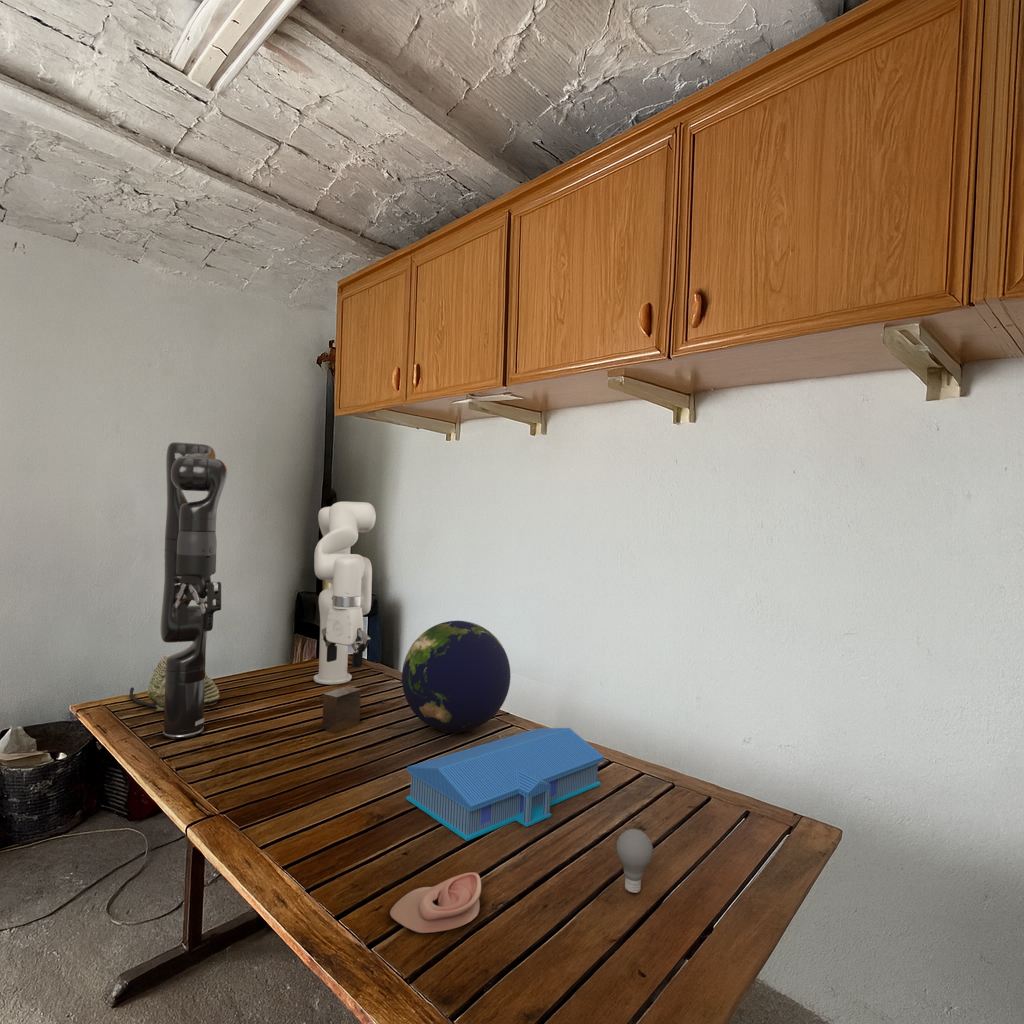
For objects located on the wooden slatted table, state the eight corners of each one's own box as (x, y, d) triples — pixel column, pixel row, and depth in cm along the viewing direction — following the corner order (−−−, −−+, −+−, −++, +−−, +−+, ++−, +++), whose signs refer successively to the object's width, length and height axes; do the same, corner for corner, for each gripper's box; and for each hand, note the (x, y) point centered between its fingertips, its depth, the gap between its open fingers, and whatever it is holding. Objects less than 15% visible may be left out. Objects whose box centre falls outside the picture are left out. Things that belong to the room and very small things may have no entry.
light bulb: (610, 879, 108) (613, 822, 108) (644, 879, 109) (647, 822, 109) (619, 902, 102) (622, 840, 102) (655, 901, 103) (658, 840, 103)
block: (322, 728, 172) (323, 693, 172) (346, 719, 180) (347, 685, 180) (335, 732, 170) (336, 697, 170) (359, 723, 178) (360, 689, 177)
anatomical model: (382, 899, 94) (410, 857, 105) (381, 926, 94) (409, 881, 105) (468, 915, 91) (487, 870, 103) (467, 942, 92) (486, 894, 103)
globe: (377, 737, 168) (382, 624, 167) (433, 705, 195) (437, 608, 195) (480, 759, 156) (485, 638, 156) (523, 721, 184) (528, 619, 183)
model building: (477, 848, 116) (480, 794, 116) (404, 798, 134) (406, 751, 134) (612, 789, 143) (614, 745, 142) (536, 754, 161) (537, 715, 161)
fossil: (144, 707, 182) (145, 655, 182) (212, 696, 194) (213, 647, 194) (151, 716, 175) (153, 662, 175) (221, 703, 188) (223, 653, 188)
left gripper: (159, 550, 135) (157, 626, 135) (201, 555, 127) (198, 635, 128) (193, 548, 141) (190, 621, 141) (234, 553, 134) (231, 630, 134)
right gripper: (313, 599, 175) (311, 661, 176) (360, 607, 167) (357, 672, 167) (334, 597, 182) (331, 656, 182) (379, 604, 173) (377, 666, 173)
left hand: (194, 628), depth 135 cm, fingers open, 8 cm apart
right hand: (344, 663), depth 174 cm, fingers open, 9 cm apart
